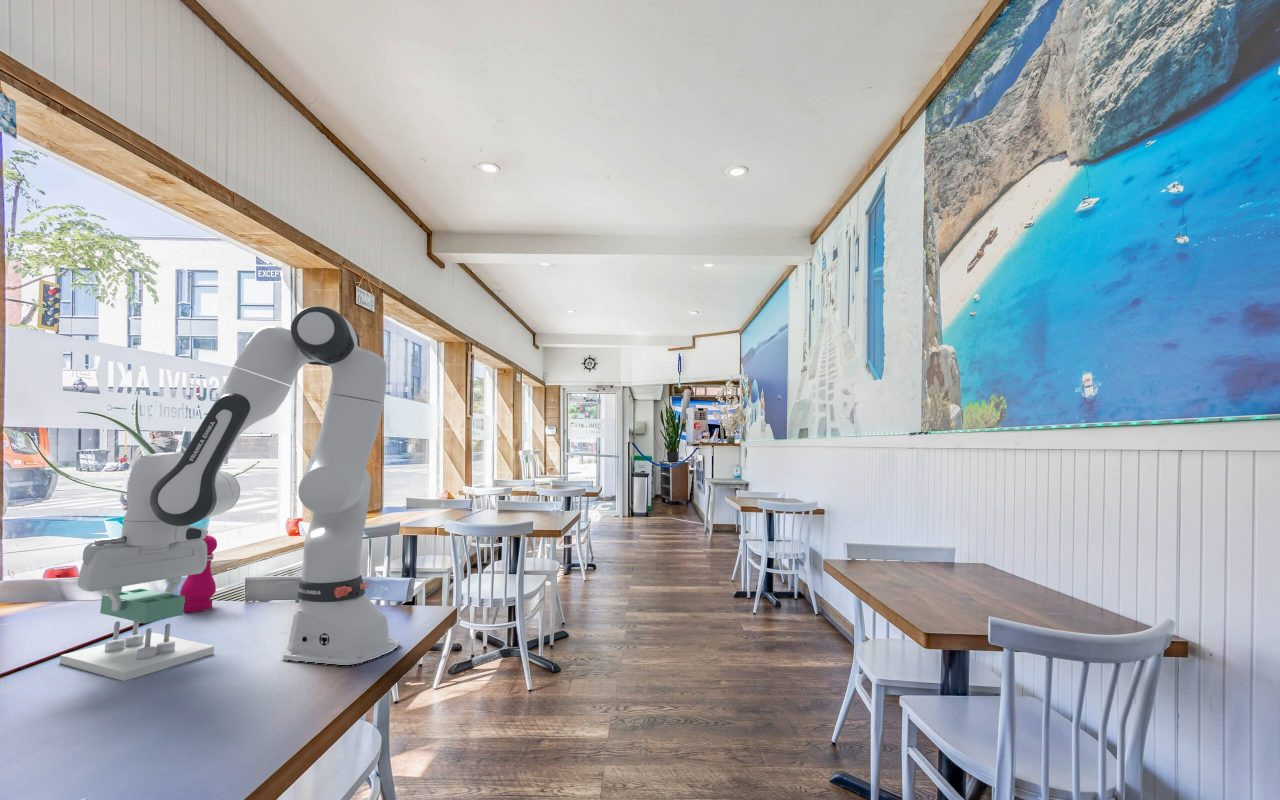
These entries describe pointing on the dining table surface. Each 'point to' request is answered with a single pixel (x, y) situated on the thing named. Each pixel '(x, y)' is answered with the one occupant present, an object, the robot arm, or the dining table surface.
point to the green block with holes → (145, 605)
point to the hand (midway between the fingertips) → (143, 605)
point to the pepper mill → (200, 583)
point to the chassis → (136, 654)
